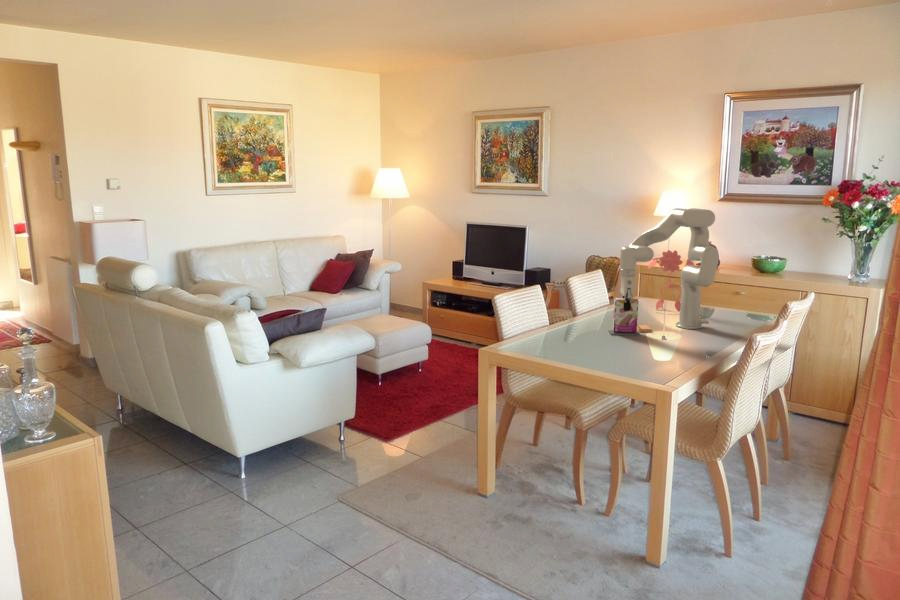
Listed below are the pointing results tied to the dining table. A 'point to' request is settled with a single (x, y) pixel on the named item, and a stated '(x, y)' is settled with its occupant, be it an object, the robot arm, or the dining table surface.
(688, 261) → the pink artificial flower
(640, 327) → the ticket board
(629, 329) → the candy bar box
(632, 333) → the rubber pad
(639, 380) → the dining table surface
